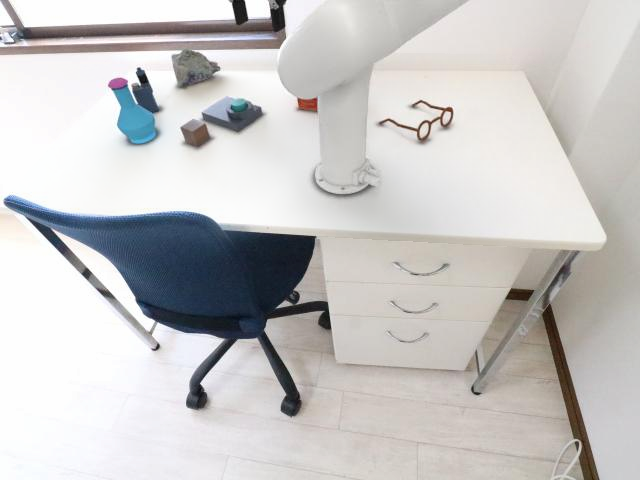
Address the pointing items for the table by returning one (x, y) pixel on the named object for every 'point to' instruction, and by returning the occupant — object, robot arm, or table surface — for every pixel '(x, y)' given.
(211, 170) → the table surface
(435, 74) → the table surface
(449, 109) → the glasses
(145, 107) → the vaping device
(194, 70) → the mineral rock
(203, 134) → the block
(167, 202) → the table surface
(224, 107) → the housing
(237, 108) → the button
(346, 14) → the robot arm
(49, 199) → the table surface
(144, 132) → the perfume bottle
